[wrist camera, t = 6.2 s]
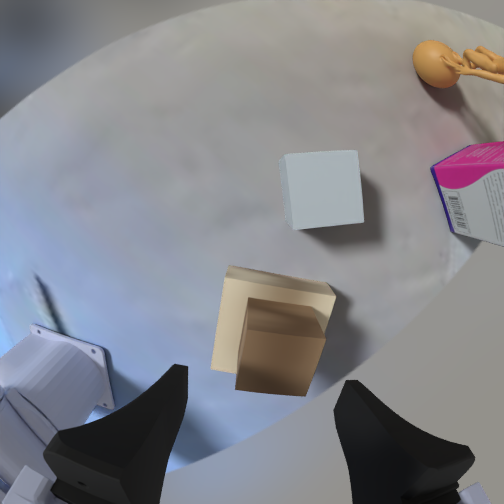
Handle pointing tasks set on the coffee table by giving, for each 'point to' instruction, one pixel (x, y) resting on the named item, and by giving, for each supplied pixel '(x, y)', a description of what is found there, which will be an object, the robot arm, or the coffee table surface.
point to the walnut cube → (278, 348)
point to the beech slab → (267, 288)
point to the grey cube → (321, 189)
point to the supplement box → (474, 191)
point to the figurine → (455, 64)
